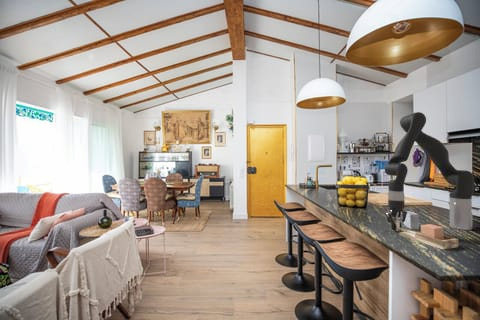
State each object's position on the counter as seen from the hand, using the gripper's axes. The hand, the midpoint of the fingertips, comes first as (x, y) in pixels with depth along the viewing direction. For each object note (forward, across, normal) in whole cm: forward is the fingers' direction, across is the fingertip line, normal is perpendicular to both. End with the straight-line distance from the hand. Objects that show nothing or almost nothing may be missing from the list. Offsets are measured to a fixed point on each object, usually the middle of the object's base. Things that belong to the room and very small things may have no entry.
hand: (396, 229), depth 125 cm
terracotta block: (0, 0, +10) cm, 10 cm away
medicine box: (+1, -14, -2) cm, 14 cm away
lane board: (+1, 0, +16) cm, 16 cm away
